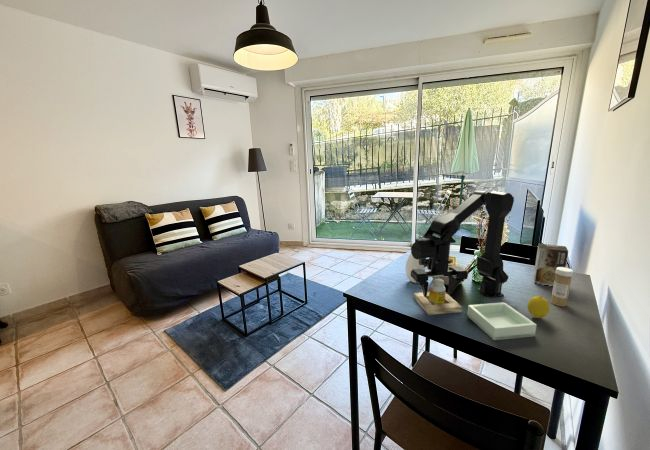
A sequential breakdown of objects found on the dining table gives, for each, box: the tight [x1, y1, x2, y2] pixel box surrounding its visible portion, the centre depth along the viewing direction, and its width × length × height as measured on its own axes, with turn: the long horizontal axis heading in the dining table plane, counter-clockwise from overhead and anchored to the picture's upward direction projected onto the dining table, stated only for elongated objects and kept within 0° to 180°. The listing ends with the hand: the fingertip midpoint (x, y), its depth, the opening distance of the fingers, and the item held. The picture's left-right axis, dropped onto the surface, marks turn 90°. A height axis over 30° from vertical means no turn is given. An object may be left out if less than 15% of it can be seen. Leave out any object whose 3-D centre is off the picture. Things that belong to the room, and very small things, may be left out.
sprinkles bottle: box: [550, 267, 574, 307], centre depth 98 cm, size 5×5×13 cm
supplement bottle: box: [428, 277, 447, 305], centre depth 100 cm, size 5×5×10 cm
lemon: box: [527, 295, 550, 319], centre depth 90 cm, size 6×6×8 cm
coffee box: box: [532, 243, 569, 286], centre depth 113 cm, size 9×6×16 cm
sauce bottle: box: [404, 252, 426, 284], centre depth 117 cm, size 8×8×18 cm
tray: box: [466, 302, 538, 341], centre depth 87 cm, size 13×13×4 cm
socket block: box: [413, 291, 463, 316], centre depth 101 cm, size 12×12×2 cm
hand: (437, 295), depth 100 cm, fingers open, 9 cm apart
